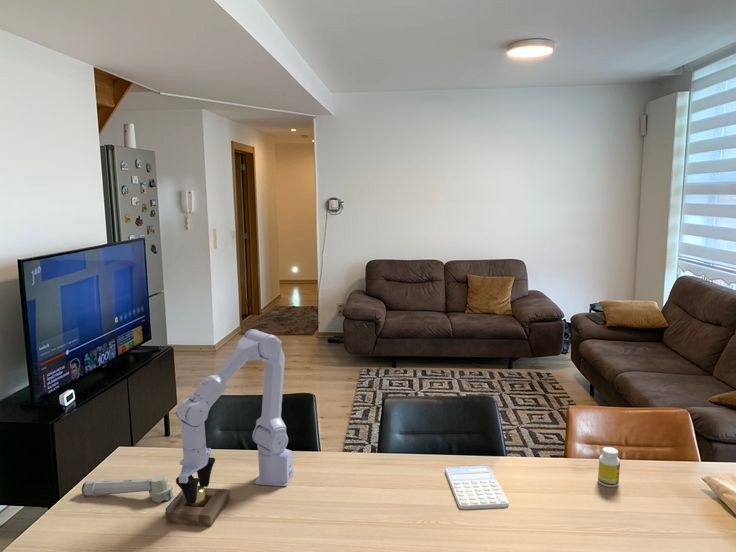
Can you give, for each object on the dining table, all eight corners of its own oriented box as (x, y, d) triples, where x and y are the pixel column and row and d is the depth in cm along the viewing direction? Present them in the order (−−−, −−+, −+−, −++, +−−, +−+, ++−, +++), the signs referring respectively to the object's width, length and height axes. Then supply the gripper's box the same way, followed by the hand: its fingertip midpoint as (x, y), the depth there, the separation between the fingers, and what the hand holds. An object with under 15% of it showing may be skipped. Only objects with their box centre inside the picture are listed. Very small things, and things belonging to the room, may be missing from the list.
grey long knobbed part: (90, 476, 155) (172, 469, 151) (95, 498, 156) (177, 491, 152) (78, 486, 150) (163, 479, 146) (83, 509, 151) (168, 502, 147)
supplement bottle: (619, 489, 151) (621, 455, 150) (598, 486, 153) (600, 453, 151) (617, 479, 156) (619, 447, 155) (597, 476, 158) (598, 444, 156)
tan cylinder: (208, 507, 146) (207, 486, 145) (201, 516, 142) (199, 494, 141) (194, 505, 146) (193, 485, 145) (187, 514, 143) (185, 493, 142)
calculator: (459, 511, 143) (459, 504, 143) (444, 472, 163) (444, 466, 162) (510, 509, 144) (510, 502, 143) (489, 469, 163) (489, 464, 163)
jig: (229, 499, 149) (228, 486, 148) (211, 526, 137) (209, 511, 137) (188, 496, 151) (187, 483, 150) (165, 523, 139) (164, 508, 138)
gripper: (192, 432, 149) (196, 478, 151) (165, 458, 135) (169, 509, 137) (217, 433, 148) (220, 480, 150) (192, 459, 133) (196, 511, 136)
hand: (198, 494), depth 143 cm, fingers open, 7 cm apart
